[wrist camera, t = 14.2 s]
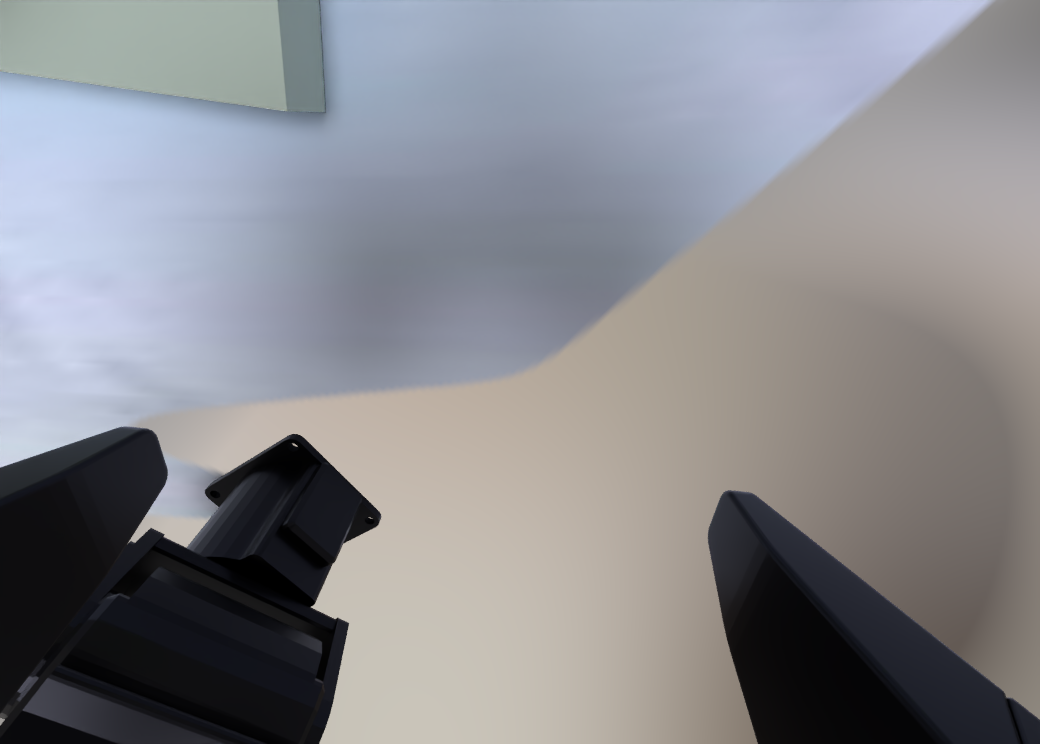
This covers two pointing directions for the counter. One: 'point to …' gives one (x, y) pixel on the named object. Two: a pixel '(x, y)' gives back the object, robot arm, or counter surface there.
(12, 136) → the counter surface
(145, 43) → the sage rectangular frame
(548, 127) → the counter surface
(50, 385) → the counter surface
